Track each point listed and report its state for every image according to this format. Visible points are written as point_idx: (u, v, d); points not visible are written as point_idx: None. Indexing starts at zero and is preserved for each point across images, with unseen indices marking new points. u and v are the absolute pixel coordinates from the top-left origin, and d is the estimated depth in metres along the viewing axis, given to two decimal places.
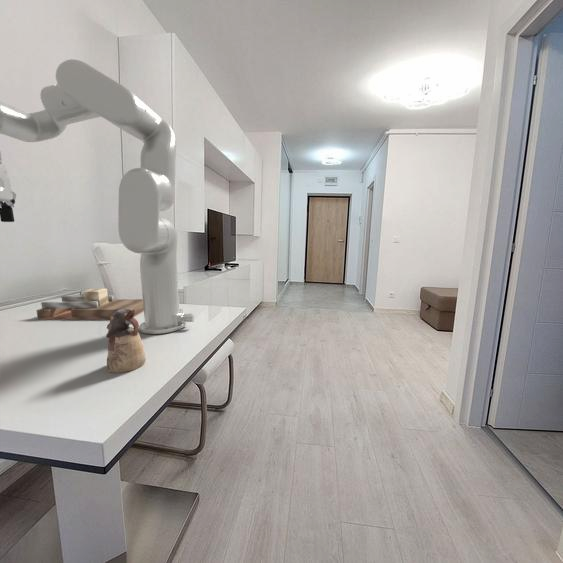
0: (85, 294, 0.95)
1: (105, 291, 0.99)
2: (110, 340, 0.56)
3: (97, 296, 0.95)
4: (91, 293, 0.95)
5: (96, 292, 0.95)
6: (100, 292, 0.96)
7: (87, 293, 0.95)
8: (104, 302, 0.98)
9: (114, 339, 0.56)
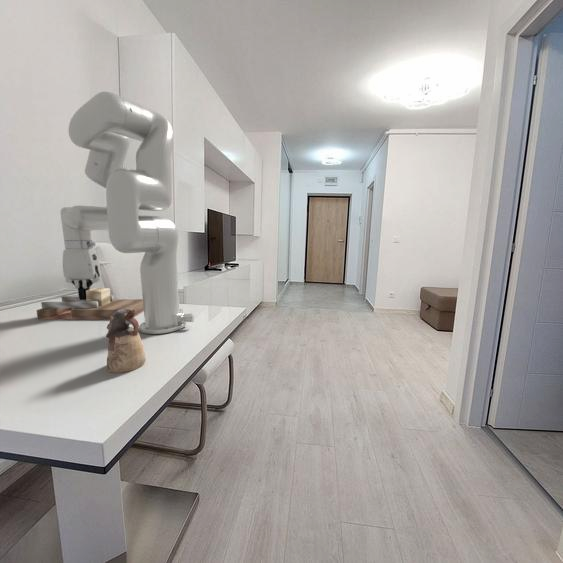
0: (88, 293, 0.95)
1: (108, 291, 0.99)
2: (110, 340, 0.56)
3: (100, 295, 0.95)
4: (94, 292, 0.95)
5: (99, 292, 0.95)
6: (103, 292, 0.96)
7: (90, 292, 0.95)
8: (106, 302, 0.99)
9: (114, 339, 0.56)
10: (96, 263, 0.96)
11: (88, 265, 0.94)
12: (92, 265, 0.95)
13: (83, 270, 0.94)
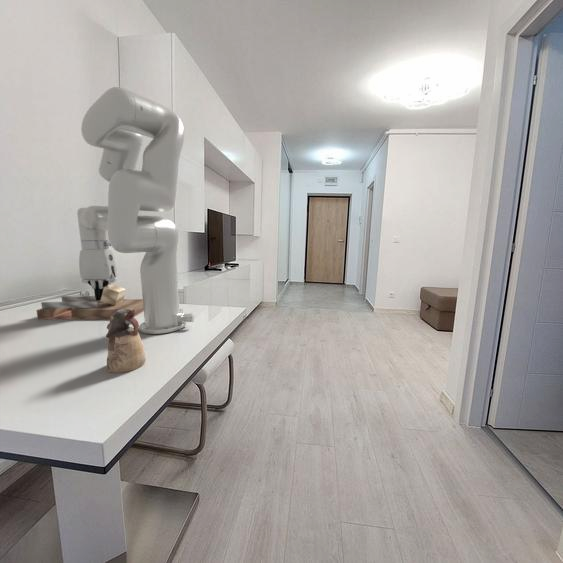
0: (105, 290, 0.95)
1: (124, 291, 0.99)
2: (110, 340, 0.56)
3: (117, 296, 0.96)
4: (111, 291, 0.95)
5: (116, 292, 0.95)
6: (120, 292, 0.97)
7: (107, 290, 0.95)
8: (119, 302, 0.99)
9: (114, 339, 0.56)
10: (112, 263, 0.96)
11: (105, 265, 0.94)
12: (108, 265, 0.95)
13: (100, 270, 0.94)
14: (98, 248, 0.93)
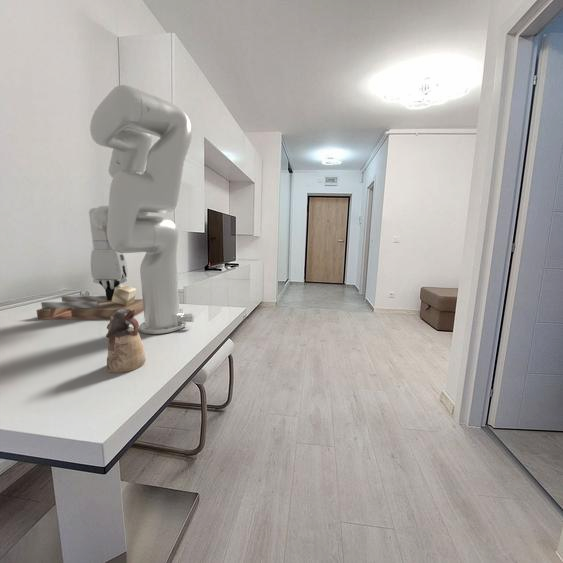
0: (116, 290, 0.95)
1: (134, 291, 0.99)
2: (110, 340, 0.56)
3: (127, 296, 0.95)
4: (122, 291, 0.95)
5: (127, 292, 0.95)
6: (131, 292, 0.96)
7: (118, 290, 0.95)
8: (130, 302, 0.99)
9: (114, 339, 0.56)
10: (123, 263, 0.96)
11: (116, 265, 0.94)
12: (120, 265, 0.95)
13: (111, 270, 0.94)
14: (110, 248, 0.93)
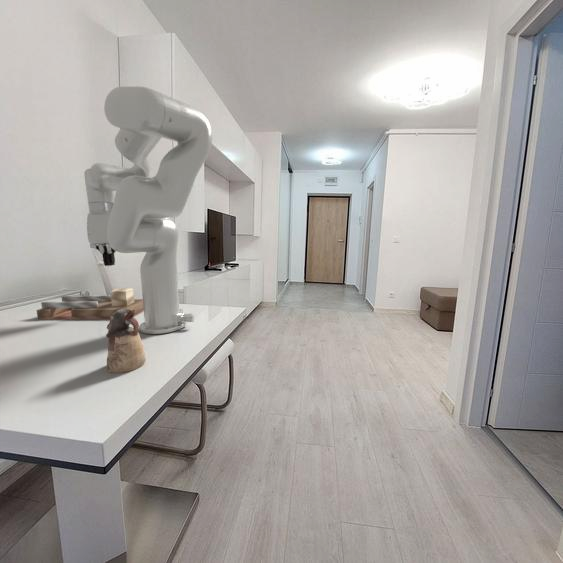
0: (112, 294, 0.95)
1: (131, 291, 0.99)
2: (110, 340, 0.56)
3: (125, 295, 0.95)
4: (118, 293, 0.95)
5: (123, 292, 0.95)
6: (127, 292, 0.96)
7: (114, 293, 0.95)
8: (130, 302, 0.98)
9: (114, 339, 0.56)
10: None
11: None
12: None
13: None
14: (106, 210, 0.90)
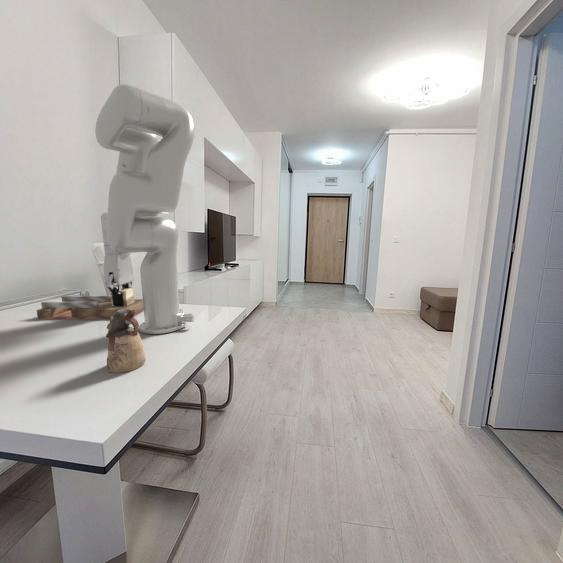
0: None
1: (131, 291, 0.99)
2: (110, 340, 0.56)
3: (125, 295, 0.95)
4: None
5: (123, 292, 0.95)
6: (127, 292, 0.96)
7: None
8: (130, 302, 0.98)
9: (114, 339, 0.56)
10: None
11: (131, 268, 1.00)
12: None
13: (130, 273, 0.99)
14: None
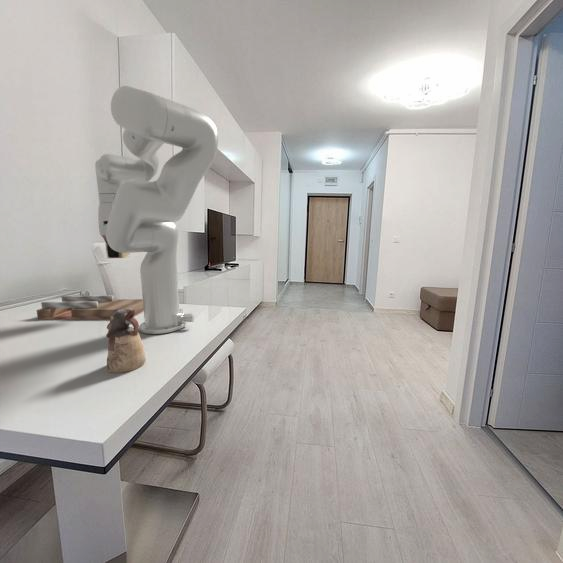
0: None
1: None
2: (110, 340, 0.56)
3: None
4: None
5: None
6: None
7: None
8: (126, 255, 0.96)
9: (114, 339, 0.56)
10: None
11: None
12: None
13: None
14: None
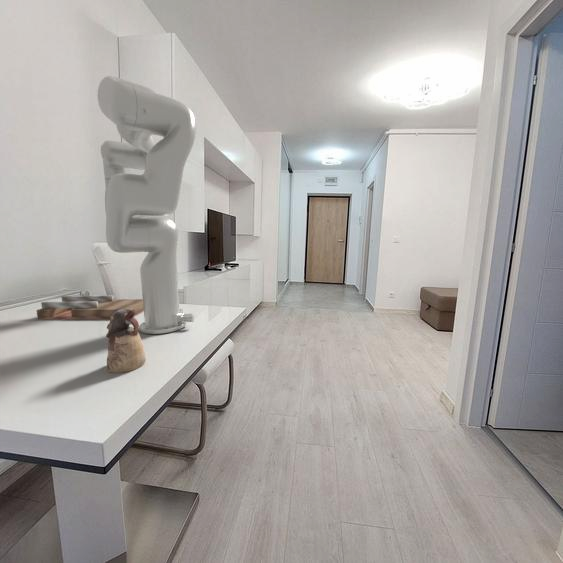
0: None
1: None
2: (110, 340, 0.56)
3: None
4: None
5: None
6: None
7: None
8: None
9: (114, 339, 0.56)
10: None
11: None
12: None
13: None
14: None
